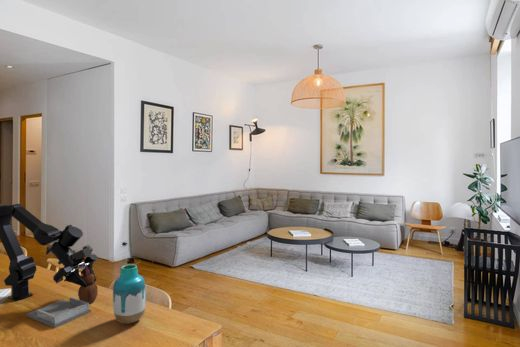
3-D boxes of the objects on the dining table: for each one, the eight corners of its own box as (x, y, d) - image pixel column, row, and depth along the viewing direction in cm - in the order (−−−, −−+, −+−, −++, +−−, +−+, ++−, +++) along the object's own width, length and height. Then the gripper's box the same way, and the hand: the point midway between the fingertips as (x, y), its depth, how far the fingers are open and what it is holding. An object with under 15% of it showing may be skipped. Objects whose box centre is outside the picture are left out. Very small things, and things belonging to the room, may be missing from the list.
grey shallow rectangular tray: (26, 316, 118) (26, 306, 118) (63, 301, 130) (62, 293, 129) (54, 328, 110) (54, 317, 110) (90, 311, 121) (90, 302, 121)
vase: (152, 316, 118) (151, 263, 117) (132, 330, 108) (130, 273, 107) (128, 311, 122) (127, 260, 121) (106, 325, 112) (104, 269, 111)
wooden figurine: (88, 306, 125) (87, 268, 125) (75, 305, 127) (74, 267, 126) (100, 299, 132) (99, 262, 131) (88, 298, 133) (87, 261, 132)
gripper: (59, 247, 119) (87, 279, 118) (93, 234, 138) (118, 262, 137) (40, 267, 121) (68, 299, 120) (77, 252, 139) (101, 279, 138)
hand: (91, 283), depth 129 cm, fingers closed on wooden figurine, 5 cm apart
